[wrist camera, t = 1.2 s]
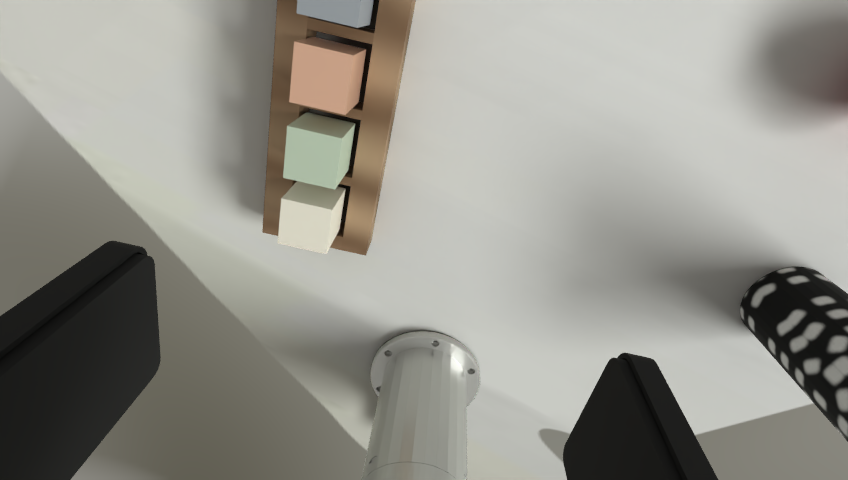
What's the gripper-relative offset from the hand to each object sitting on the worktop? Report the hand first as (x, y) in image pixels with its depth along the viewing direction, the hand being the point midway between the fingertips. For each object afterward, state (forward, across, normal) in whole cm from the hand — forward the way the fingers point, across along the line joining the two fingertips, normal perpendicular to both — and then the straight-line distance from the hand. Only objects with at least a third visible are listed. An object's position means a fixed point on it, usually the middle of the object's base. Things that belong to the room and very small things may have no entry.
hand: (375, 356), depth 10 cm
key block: (+35, +8, +4) cm, 36 cm away
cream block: (+32, +8, +13) cm, 35 cm away
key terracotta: (+32, +8, +1) cm, 33 cm away
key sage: (+32, +8, +7) cm, 34 cm away
